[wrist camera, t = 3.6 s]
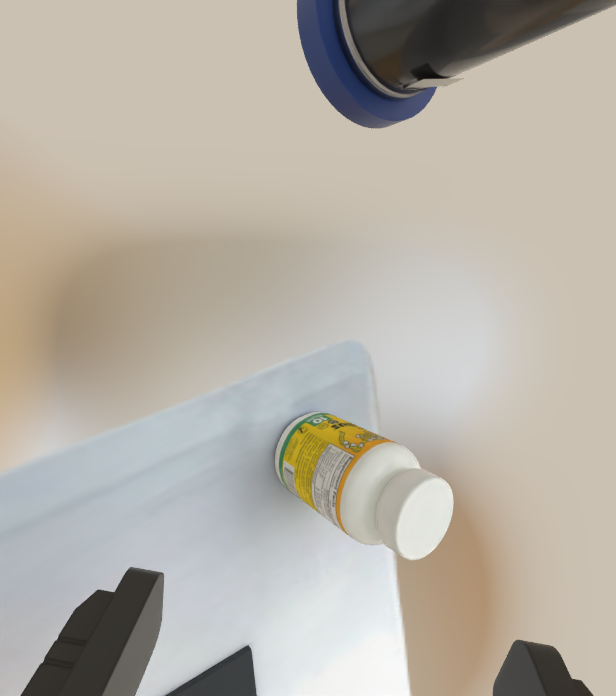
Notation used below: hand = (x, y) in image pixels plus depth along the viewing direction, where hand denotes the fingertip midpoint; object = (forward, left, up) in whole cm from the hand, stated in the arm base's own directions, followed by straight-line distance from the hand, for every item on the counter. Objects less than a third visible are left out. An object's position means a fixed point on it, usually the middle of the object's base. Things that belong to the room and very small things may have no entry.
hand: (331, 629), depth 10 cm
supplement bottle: (+4, +9, -15) cm, 18 cm away
